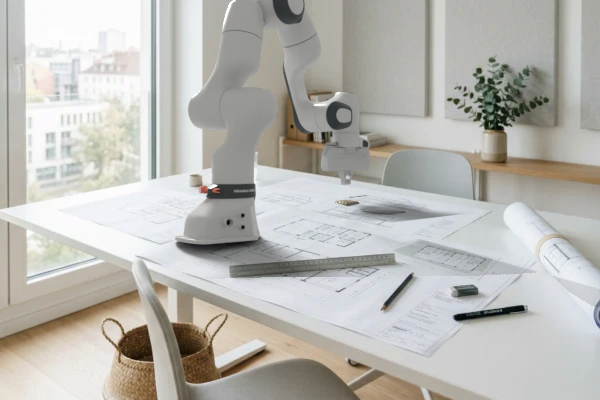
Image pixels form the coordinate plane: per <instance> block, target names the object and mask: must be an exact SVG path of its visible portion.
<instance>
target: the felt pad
mask: <svg viewBox="0 0 600 400" xmlns="http://www.w3.org/2000/svg"><path fill="white" fill-rule="evenodd" d="M362 212H363V213H367V214H369V213H370V214H379V215H393V214H402V213H403V214H404V213H406V211H405V210H397V209H395V210H394V209H391V210H390V209H387V210H385V209H384V210H383V209H380V210H379V209H378V210H374V209H373V210H362Z"/></svg>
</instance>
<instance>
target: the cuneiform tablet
mask: <svg viewBox="0 0 600 400" xmlns="http://www.w3.org/2000/svg"><path fill="white" fill-rule="evenodd" d="M367 196H368V195H367V194H364V195H363V194H362V195H353V196H349V198H350V199H339V200H335V201H334V203H335V204H338V205H342V206H346V207H348V206H353V205H357V204H360V202H359V201H358V200H353V199H351V198H359V197H360V198H361V197H367Z"/></svg>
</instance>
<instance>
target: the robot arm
mask: <svg viewBox="0 0 600 400" xmlns="http://www.w3.org/2000/svg"><path fill="white" fill-rule="evenodd" d="M305 5H306V4H305V0H232V1H231V2H230V3H229V5H228V7H227V9H226V12H225V16H224V19H223V22H222V23H223V24H222V28H221V34H220V40H219V47H218V52H217V53H218V54H217V57H216V62H215V65H214V68H213V70H212V72H211V74H210V75H209V78H208V79H207V81H206V82H205V84H203V86H202V87H201V88H200V89H199V91H197V92H196V93H195V94H193V95H192V97H190V100H189V102H188V105H187V113H188V117H189V120H190V122H191V124H192V125H193V126H194V127H195V128H197V129H200V130H204V131H205V130H206V131H210V132H224V131H225V132H227V134H226V137H225V140H224V141H223V143H222V144H221V145H220V146H219V147H217V148H216V149H215V150H214V151H213V152H212V155H211V183H210V184H209V186H207V185H200V186H199V187H198V193H199V194H206V196H205V199H204V200H203V201H202V202H201V203H200V204H198V205H197V206H196V207H195V208H194V209H193V210H191V212H189V213H188V214H187V216H186V217H185V220H184V227H183V234H177V235H175V236H174V237H175V238H174V240H175V241H176V242H180V243H186V244H193V245H212V244H213V245H215V244H226V243H239V242H248V241H249V242H251V241H257V240H259V238H260V237H261V234H260V229H259V224H258V221H257V214H256V213H257V212H256V205H255V204H256V201H255V200H256V197H257V195H256V194H257V192H256V191H257V189H256V188H257V185H256V183H255V158H256V151H257V148H258V145H259V143H260V140H261V138H262V137H263V134H264V133H265V132H266V131H267V130H268V129H269V128H270V127H271V126H272V125H273V124H274V123H275V121H276V119H277V117H278V113H279V105H278V101H277V98H276V96H275V95H274V94H273V92H272V91H271V90H269V89H267V88H261V87H256V86H246V87H245V86H244V85H245V83H246V82H247V81H249V80H250V79H251V78H253V77H254V76H255V75H256V74H257V72H258V71H259V68H260V62H261V57H262V56H261V55H262V54H261V53H262V46H263V40H264V31H266V30H276V33H277V35H278V39H279V42H280V45H281V47H282V49H283V55H284V60H283V63H282V72H283V77H284V81H285V86H286V89H287V94H288V98H289V101H290V105H291V109H292V110H291V111H292V119H293V123H294V126H295V127H296V129H297V130H298V131H299V132H300V133H302V134H304V135H309V134H315V133H326V132H332V142H331V141H327V142H325V143H324V145H323V146H322V152H321V160H320V168H321V170H322V171H323V172H338V173H337V174H338V177H339V180H340V185H342V186H345V185H346V186H347V185H348V186H349V185H351V182H352V178H353V176H354V171H369V169H370V167H371V153H370V148H371V143H370V141H368V140H367V139H365V138H363V137H362V136H360V129H359V124H360V102H359V97H358V95H357V94H355V93H353V92H351V91H337V92H335V94H334V96H333V97H331V98H330V99H328V100H324V101H316V102H315V101H312V100H310V99H309V96H308V92H307V88H306V84H305V80H304V74H305V72H306V71H307V70H308V69H310V68H311V67H312V66H313V65H314V64H315V63H316V62H318V60H319V58H320V55H321V52H322V45H321V41H320V38H319V35H318V32H317V30H316V27H315V25H314V23H313V21H312V19H311V17H310V14H309V13H308V11H307V9H306V7H305ZM243 86H244V87H243Z"/></svg>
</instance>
